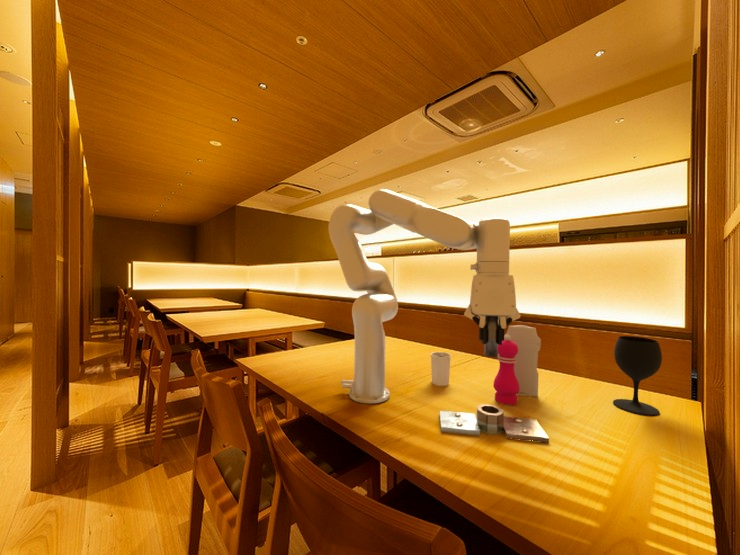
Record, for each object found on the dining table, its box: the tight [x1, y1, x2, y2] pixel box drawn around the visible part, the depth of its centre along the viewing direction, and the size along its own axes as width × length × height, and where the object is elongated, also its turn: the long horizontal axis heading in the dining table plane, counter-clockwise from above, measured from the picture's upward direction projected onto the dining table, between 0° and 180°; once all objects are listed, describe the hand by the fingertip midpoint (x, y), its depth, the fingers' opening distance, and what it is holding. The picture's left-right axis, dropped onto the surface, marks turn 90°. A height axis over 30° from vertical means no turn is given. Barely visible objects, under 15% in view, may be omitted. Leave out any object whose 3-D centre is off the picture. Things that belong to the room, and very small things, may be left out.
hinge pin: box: [484, 316, 499, 358], centre depth 77 cm, size 3×3×10 cm
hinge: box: [439, 403, 550, 444], centre depth 78 cm, size 24×9×5 cm, turn 79°
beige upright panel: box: [504, 324, 542, 398], centre depth 99 cm, size 11×4×22 cm, turn 62°
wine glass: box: [612, 335, 663, 417], centre depth 90 cm, size 10×10×20 cm
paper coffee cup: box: [430, 351, 452, 387], centre depth 108 cm, size 7×7×10 cm
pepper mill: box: [493, 334, 520, 406], centre depth 94 cm, size 7×7×20 cm
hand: (491, 342), depth 77 cm, fingers closed on hinge pin, 3 cm apart
